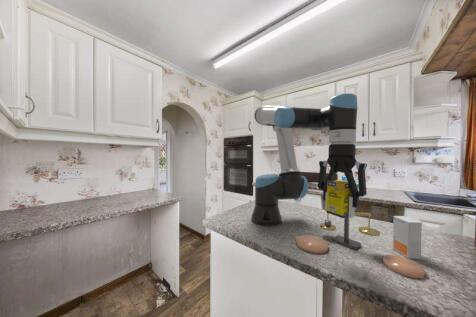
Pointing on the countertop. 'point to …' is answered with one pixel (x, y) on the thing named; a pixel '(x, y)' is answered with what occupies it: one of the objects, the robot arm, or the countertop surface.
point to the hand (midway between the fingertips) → (339, 213)
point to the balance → (345, 239)
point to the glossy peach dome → (403, 266)
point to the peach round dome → (312, 244)
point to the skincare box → (407, 236)
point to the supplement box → (338, 198)
